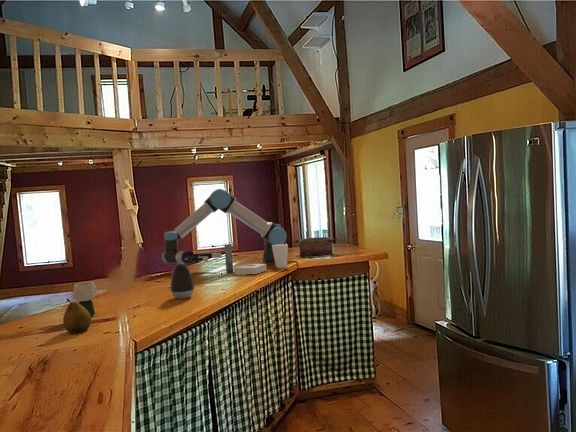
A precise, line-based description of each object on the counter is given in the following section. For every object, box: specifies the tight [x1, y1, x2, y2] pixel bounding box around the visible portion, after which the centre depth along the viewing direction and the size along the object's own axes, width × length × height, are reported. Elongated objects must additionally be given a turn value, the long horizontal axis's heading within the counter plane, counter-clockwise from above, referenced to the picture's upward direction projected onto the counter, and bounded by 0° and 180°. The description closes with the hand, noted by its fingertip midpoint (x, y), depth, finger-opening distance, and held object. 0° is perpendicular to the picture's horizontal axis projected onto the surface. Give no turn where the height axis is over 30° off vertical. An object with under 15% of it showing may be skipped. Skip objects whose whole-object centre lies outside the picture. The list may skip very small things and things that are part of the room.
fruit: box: [62, 298, 92, 334], centre depth 167 cm, size 9×9×12 cm
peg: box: [223, 243, 234, 274], centre depth 275 cm, size 4×4×16 cm
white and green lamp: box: [71, 281, 97, 317], centre depth 189 cm, size 11×7×13 cm, turn 153°
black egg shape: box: [170, 263, 195, 300], centre depth 213 cm, size 10×10×15 cm
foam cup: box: [272, 243, 289, 269], centre depth 283 cm, size 10×9×13 cm
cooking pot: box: [294, 236, 338, 257], centre depth 330 cm, size 30×22×11 cm
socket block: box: [234, 263, 268, 276], centre depth 270 cm, size 13×13×4 cm
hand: (214, 257), depth 279 cm, fingers open, 13 cm apart
